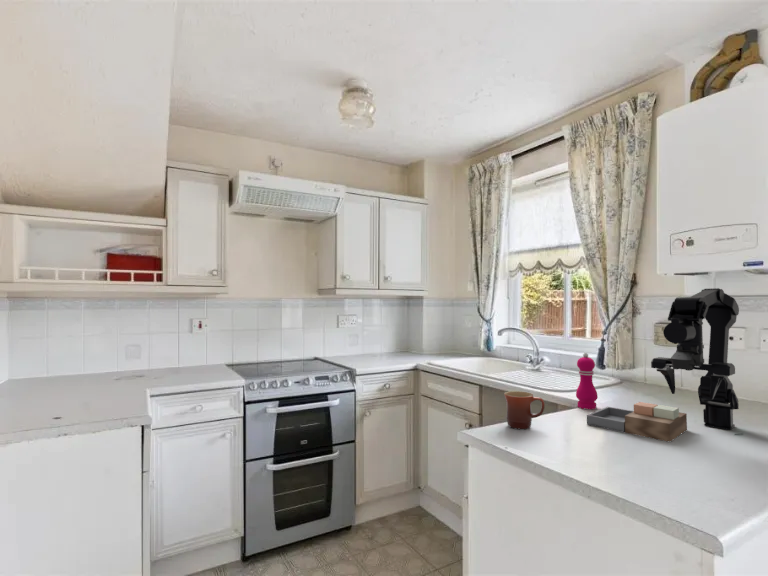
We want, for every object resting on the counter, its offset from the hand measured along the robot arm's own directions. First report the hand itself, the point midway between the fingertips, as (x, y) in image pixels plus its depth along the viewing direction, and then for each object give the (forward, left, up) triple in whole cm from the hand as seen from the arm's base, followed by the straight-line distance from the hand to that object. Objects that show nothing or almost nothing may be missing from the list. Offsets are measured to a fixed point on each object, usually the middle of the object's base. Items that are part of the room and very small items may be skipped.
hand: (692, 396), depth 121 cm
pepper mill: (+36, -14, -12) cm, 41 cm away
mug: (+38, +25, -12) cm, 47 cm away
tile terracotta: (+12, 0, -7) cm, 14 cm away
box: (+21, 0, -12) cm, 24 cm away
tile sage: (+7, 0, -7) cm, 10 cm away
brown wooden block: (+9, 0, -12) cm, 15 cm away
